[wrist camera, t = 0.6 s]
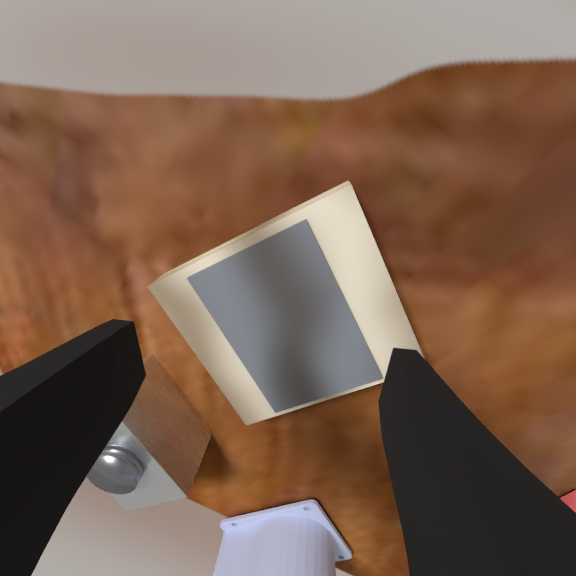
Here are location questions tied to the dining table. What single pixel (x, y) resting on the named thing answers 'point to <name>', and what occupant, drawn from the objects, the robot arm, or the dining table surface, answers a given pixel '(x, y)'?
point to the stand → (291, 308)
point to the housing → (153, 446)
